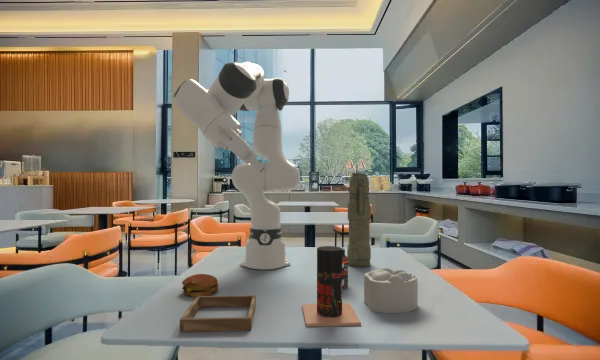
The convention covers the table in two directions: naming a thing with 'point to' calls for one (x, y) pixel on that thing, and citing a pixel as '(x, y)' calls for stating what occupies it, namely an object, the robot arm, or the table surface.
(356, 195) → the olive green pillar
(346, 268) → the supplement bottle
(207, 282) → the burger
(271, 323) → the table surface
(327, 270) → the deodorant
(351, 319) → the coaster
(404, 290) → the lumpy-topped squat cylinder
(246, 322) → the corral
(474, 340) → the table surface
